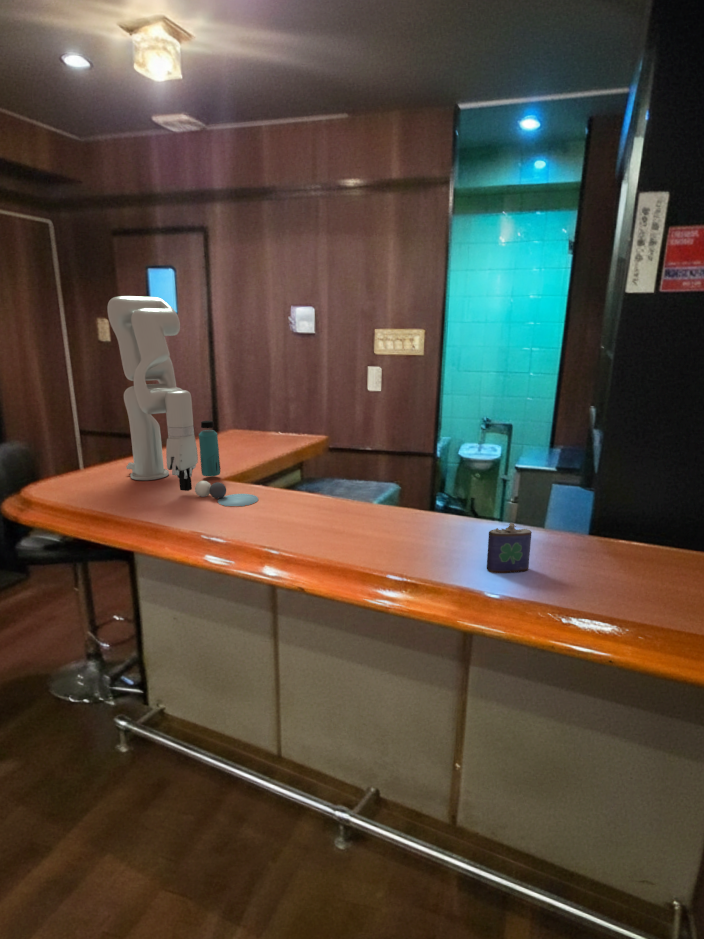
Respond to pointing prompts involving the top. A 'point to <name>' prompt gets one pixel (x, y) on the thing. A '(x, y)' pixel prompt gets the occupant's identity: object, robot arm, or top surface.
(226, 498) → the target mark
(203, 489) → the cue ball
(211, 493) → the object ball
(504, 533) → the flask
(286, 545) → the top surface
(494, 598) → the top surface
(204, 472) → the beverage bottle
